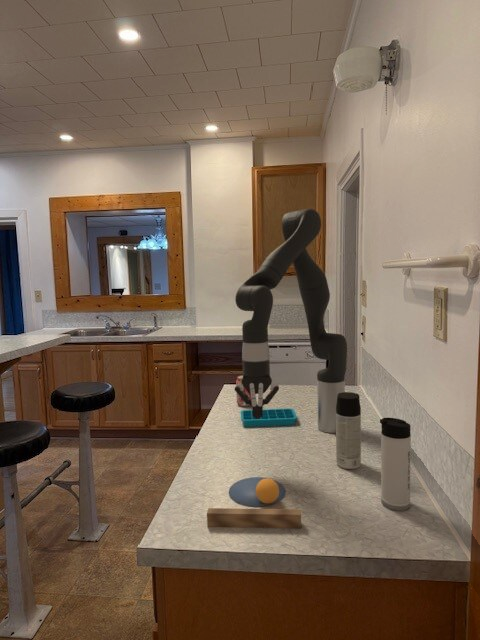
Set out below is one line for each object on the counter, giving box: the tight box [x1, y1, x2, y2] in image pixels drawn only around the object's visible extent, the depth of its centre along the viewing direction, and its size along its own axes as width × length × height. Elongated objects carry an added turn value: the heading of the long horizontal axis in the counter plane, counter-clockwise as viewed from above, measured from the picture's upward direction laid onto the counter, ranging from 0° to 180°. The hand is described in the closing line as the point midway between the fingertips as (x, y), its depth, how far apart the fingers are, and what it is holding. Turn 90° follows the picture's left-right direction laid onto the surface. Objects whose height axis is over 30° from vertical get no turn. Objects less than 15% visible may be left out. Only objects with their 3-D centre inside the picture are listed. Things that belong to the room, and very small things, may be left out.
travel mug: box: [379, 417, 412, 512], centre depth 94 cm, size 6×7×20 cm
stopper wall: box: [206, 507, 302, 529], centre depth 89 cm, size 20×2×3 cm, turn 85°
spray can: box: [335, 391, 362, 470], centre depth 115 cm, size 7×7×20 cm
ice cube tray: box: [240, 408, 298, 428], centre depth 153 cm, size 12×20×3 cm, turn 91°
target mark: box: [228, 476, 286, 508], centre depth 103 cm, size 14×14×1 cm
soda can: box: [235, 374, 251, 408], centre depth 174 cm, size 7×7×12 cm
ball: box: [256, 477, 279, 504], centre depth 98 cm, size 6×6×6 cm
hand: (257, 418), depth 117 cm, fingers closed
